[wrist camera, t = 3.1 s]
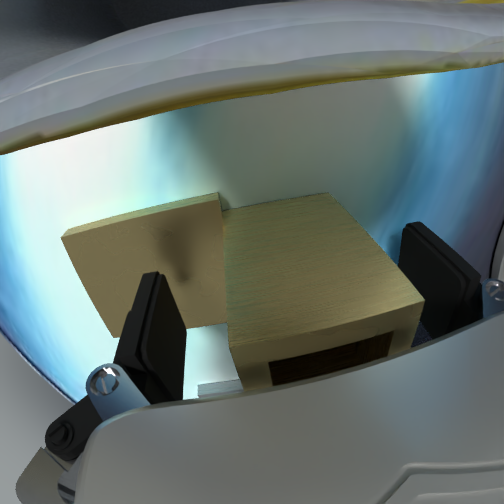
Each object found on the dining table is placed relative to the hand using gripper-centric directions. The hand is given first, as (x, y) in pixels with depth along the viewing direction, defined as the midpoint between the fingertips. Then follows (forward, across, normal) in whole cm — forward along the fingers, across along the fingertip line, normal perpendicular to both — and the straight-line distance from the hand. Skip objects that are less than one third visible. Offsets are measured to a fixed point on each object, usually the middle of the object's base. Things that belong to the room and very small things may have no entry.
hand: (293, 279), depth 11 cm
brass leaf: (+2, +4, 0) cm, 4 cm away
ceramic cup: (+3, +1, -13) cm, 13 cm away
